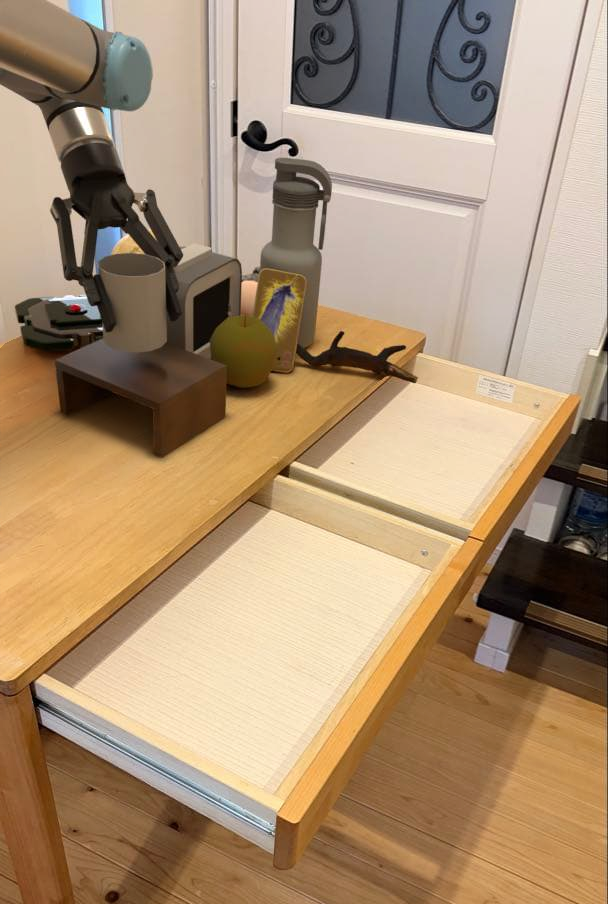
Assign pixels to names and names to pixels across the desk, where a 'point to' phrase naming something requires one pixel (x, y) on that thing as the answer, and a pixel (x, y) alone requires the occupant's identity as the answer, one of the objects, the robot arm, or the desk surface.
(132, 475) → the desk surface
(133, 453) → the desk surface
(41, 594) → the desk surface
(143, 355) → the shelf
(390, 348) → the toy
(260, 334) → the apple
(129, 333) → the cup
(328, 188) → the water bottle
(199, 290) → the alarm clock
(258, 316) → the smartphone
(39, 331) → the four-lobed dark green device
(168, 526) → the desk surface
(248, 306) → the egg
